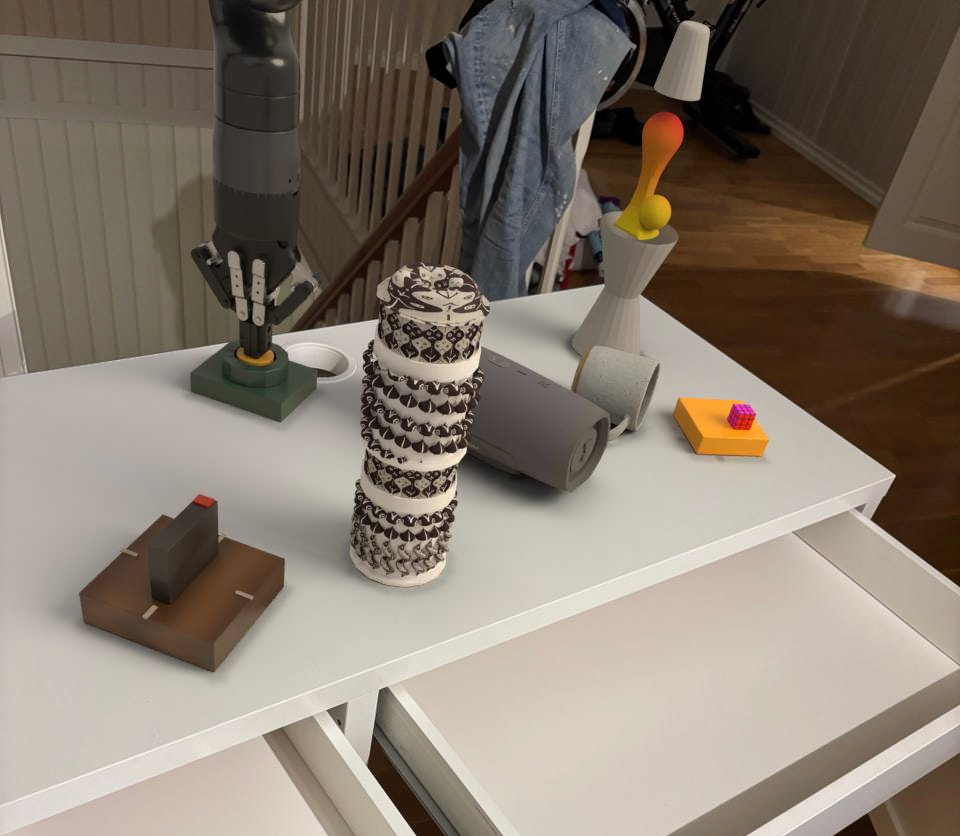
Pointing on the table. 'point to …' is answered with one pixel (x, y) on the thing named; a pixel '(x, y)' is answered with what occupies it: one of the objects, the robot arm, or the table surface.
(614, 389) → the ceramic mug
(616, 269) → the lava lamp
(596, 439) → the bluetooth speaker
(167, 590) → the rotary switch knob
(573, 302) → the table surface
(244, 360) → the button
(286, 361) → the button block
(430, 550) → the patterned cylindrical tower
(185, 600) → the rotary knob block
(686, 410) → the orange square block
